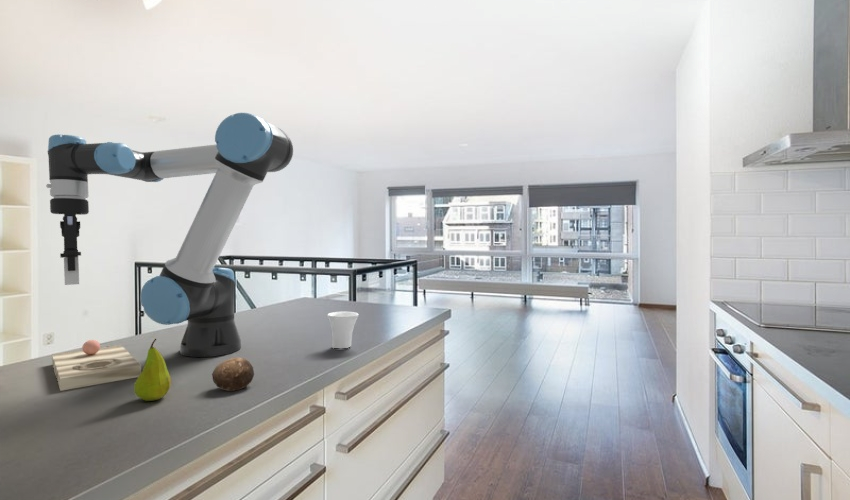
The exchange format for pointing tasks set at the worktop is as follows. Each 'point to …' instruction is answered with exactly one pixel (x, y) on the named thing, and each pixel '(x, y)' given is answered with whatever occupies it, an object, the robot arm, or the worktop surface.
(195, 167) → the robot arm
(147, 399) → the fruit
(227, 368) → the brown potato
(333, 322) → the cup
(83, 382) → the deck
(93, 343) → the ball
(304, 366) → the worktop surface
